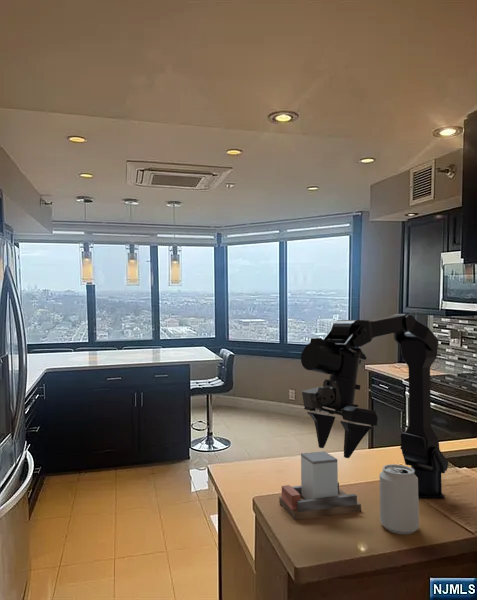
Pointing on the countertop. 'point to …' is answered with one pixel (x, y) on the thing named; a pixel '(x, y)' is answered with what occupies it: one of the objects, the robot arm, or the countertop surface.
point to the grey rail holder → (316, 503)
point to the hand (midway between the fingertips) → (333, 452)
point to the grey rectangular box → (318, 475)
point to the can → (399, 499)
